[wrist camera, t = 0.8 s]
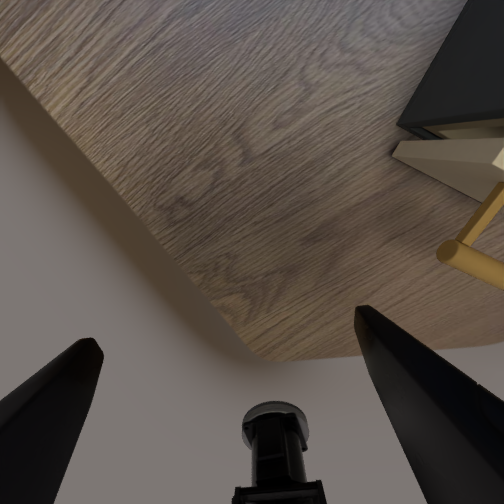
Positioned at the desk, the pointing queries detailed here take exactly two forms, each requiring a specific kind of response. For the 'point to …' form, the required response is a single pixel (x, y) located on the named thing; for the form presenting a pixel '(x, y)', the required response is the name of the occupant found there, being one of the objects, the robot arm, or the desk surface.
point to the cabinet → (463, 73)
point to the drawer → (466, 185)
